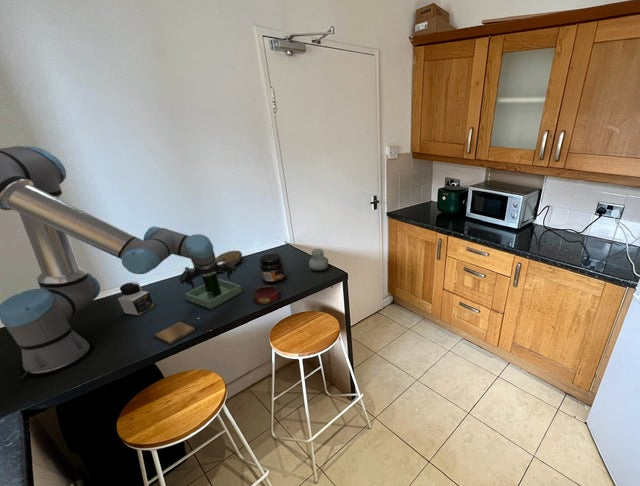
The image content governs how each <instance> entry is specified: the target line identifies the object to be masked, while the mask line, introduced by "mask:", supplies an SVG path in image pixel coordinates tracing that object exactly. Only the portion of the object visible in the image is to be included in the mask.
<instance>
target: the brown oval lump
mask: <svg viewBox="0 0 640 486" xmlns="http://www.w3.org/2000/svg"><path fill="white" fill-rule="evenodd" d="M215 257H216V261H217V262H218V263H219V262H221V261H222V260H223V259H225V260H226V261H227V262H229V263H231V264H234V265H235V266H236V265H237V263H240V261H241V259H242V258H243V253H242V251H240V250H229V251H226V252H224V253H220V254H219V255H218V256H215ZM218 273H219V272H216V274H218Z"/></svg>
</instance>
